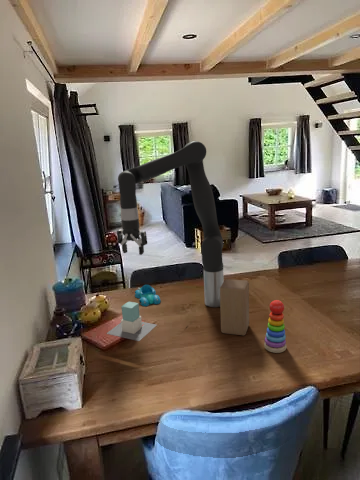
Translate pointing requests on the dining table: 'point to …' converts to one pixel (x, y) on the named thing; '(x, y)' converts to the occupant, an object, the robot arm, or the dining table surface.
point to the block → (234, 306)
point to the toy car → (147, 295)
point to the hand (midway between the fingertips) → (133, 253)
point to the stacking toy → (276, 329)
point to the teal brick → (130, 311)
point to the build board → (137, 336)
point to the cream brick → (131, 325)
